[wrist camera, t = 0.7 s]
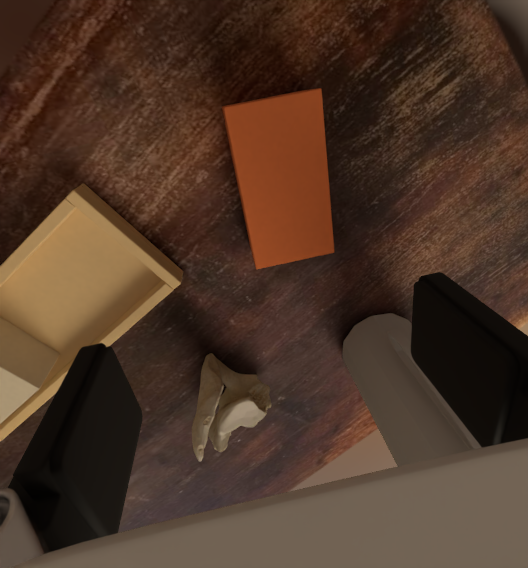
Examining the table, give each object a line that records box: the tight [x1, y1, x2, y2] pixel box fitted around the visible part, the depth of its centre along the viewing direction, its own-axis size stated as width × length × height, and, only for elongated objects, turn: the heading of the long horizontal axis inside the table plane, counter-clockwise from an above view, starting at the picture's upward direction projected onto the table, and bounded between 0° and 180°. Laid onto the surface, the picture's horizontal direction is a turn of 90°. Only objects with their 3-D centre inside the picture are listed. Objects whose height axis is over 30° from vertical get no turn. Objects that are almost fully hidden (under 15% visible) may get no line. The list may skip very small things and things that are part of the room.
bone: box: [192, 353, 271, 461], centre depth 30 cm, size 9×6×10 cm
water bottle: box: [342, 313, 482, 467], centre depth 22 cm, size 9×8×25 cm
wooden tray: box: [0, 183, 183, 441], centre depth 27 cm, size 24×9×2 cm, turn 130°
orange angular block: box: [222, 88, 334, 269], centre depth 23 cm, size 10×6×4 cm, turn 10°
